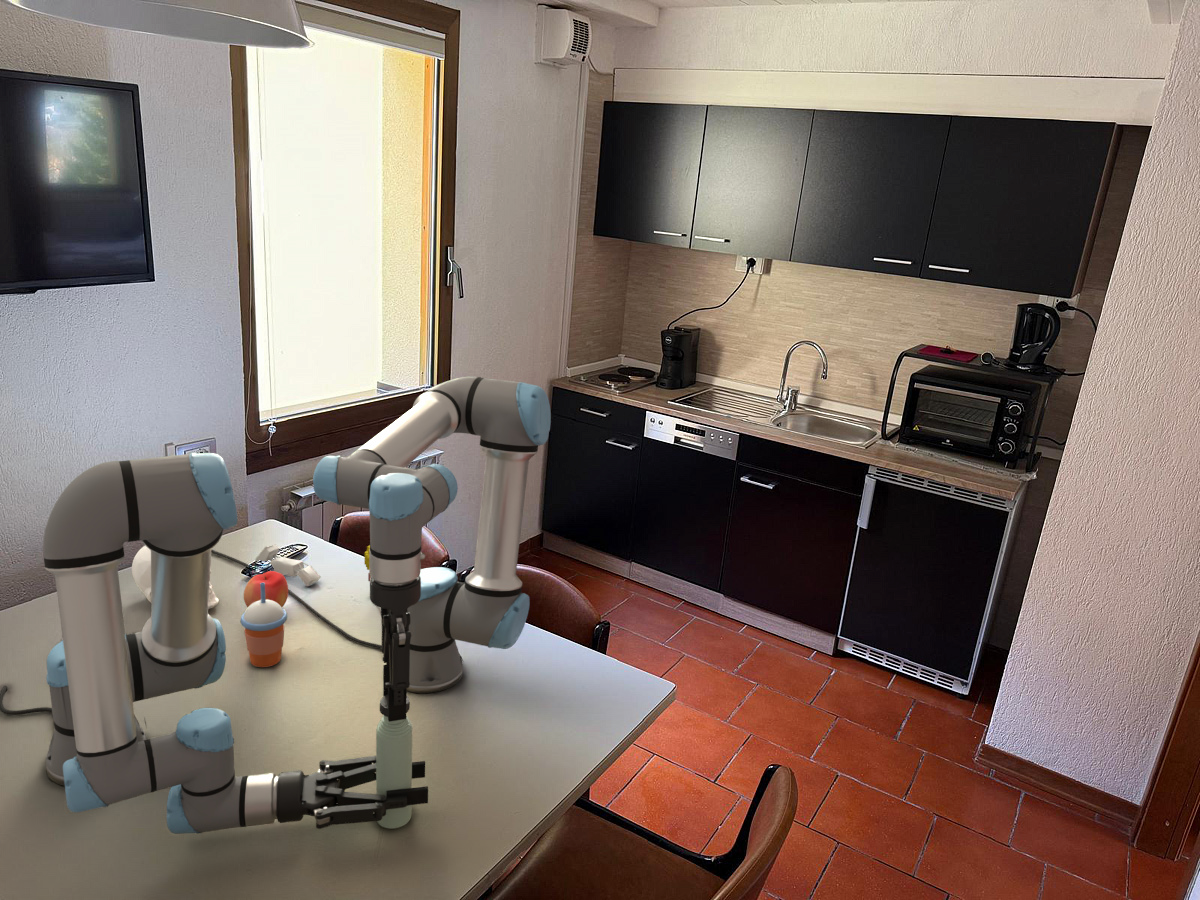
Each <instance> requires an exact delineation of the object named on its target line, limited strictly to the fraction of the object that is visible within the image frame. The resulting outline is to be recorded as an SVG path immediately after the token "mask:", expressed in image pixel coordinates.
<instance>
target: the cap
mask: <svg viewBox="0 0 1200 900" xmlns="http://www.w3.org/2000/svg"><path fill="white" fill-rule="evenodd" d="M410 705H411V704H410V698H409V696H408V695H407V705H406V714H407V713H408V712H409V710H410ZM379 712H380V714H381V715H382V716H386V717H388V694H387V695H385V696H383V695H382V697H381V698H380V700H379Z"/></svg>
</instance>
